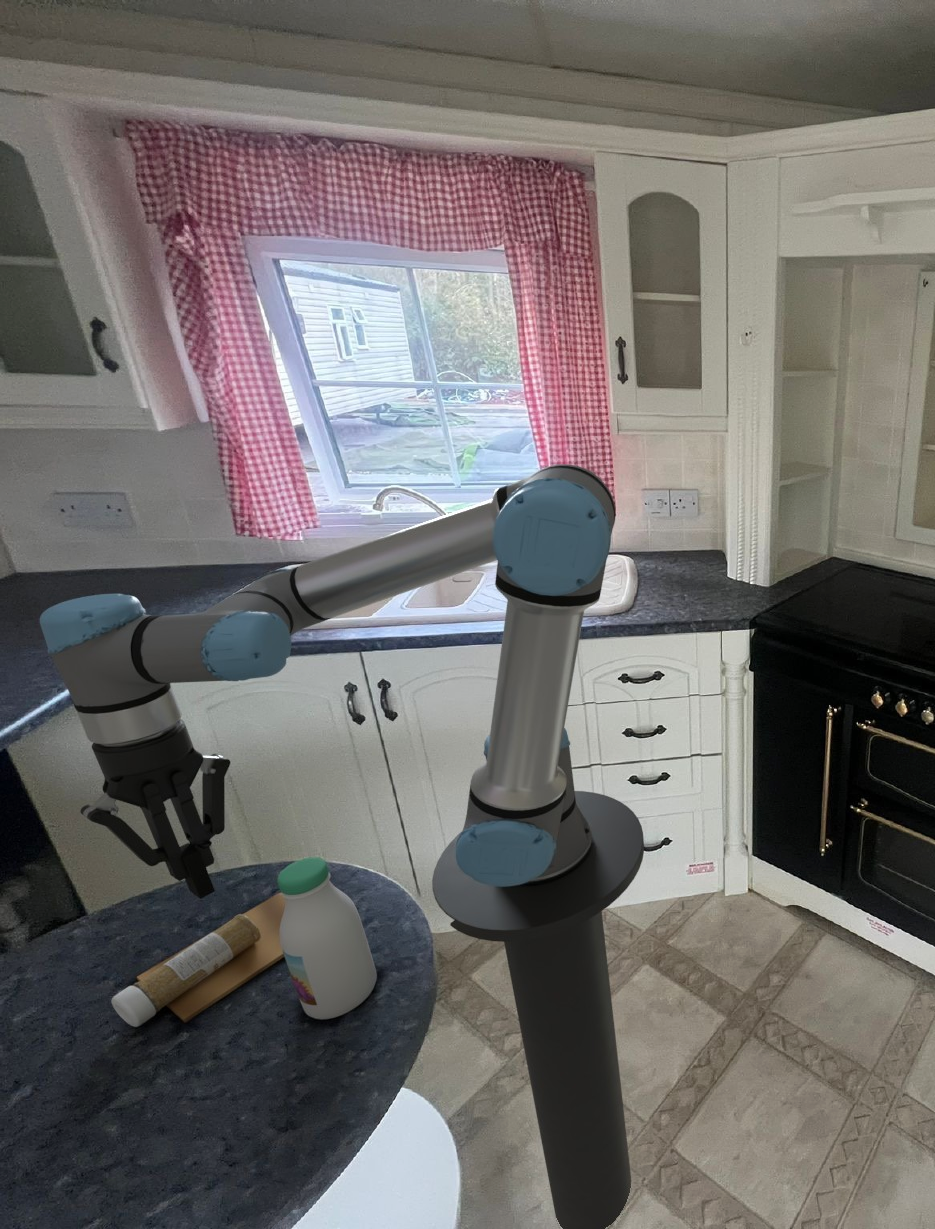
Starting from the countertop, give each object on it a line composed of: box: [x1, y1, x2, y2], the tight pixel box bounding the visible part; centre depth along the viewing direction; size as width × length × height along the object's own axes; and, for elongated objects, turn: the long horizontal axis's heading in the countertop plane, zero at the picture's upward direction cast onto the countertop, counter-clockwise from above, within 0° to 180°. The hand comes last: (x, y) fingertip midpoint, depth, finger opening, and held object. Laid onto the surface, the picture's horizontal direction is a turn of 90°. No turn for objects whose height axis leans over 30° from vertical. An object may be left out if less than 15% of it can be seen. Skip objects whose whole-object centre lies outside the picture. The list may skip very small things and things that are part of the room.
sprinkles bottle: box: [110, 913, 261, 1028], centre depth 82 cm, size 5×5×13 cm
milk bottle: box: [276, 856, 378, 1020], centre depth 79 cm, size 8×8×20 cm
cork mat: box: [136, 892, 286, 1023], centre depth 87 cm, size 16×12×1 cm
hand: (202, 890), depth 82 cm, fingers closed
